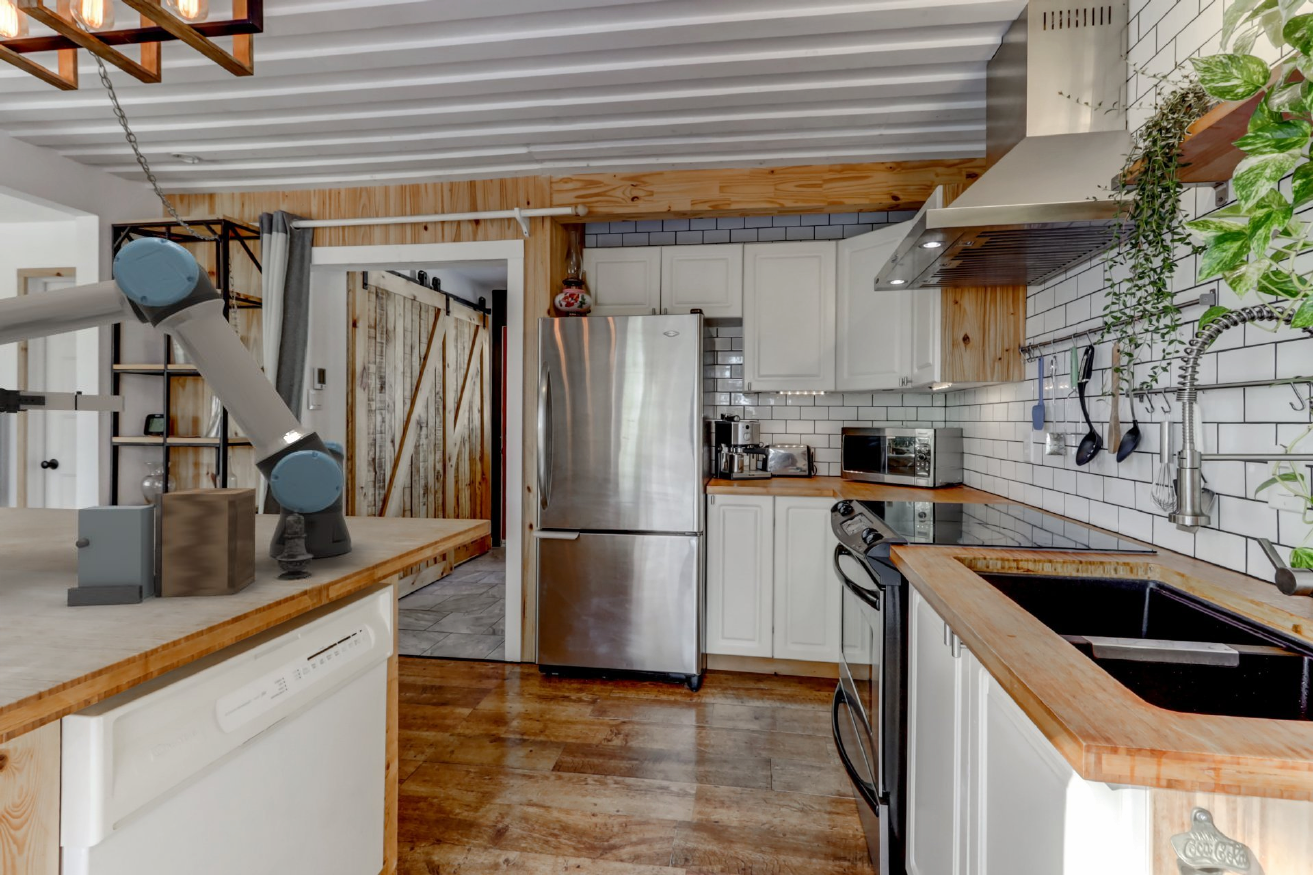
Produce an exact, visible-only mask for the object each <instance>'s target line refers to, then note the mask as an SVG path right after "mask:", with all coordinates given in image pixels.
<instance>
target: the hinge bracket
mask: <svg viewBox="0 0 1313 875" xmlns="http://www.w3.org/2000/svg"><path fill="white" fill-rule="evenodd" d="M154 593H155V574H154ZM143 600H144V599H143V585H128V586H98V587H78V586H74V587H73V586H72V587H69V588H67V602H66V603H67V604H66V605H67V607H75V606H81V607H82V606H99V605H101V606H102V605H103V606H105V605H126V604H127V605H129V604H141V603H143Z"/></svg>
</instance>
